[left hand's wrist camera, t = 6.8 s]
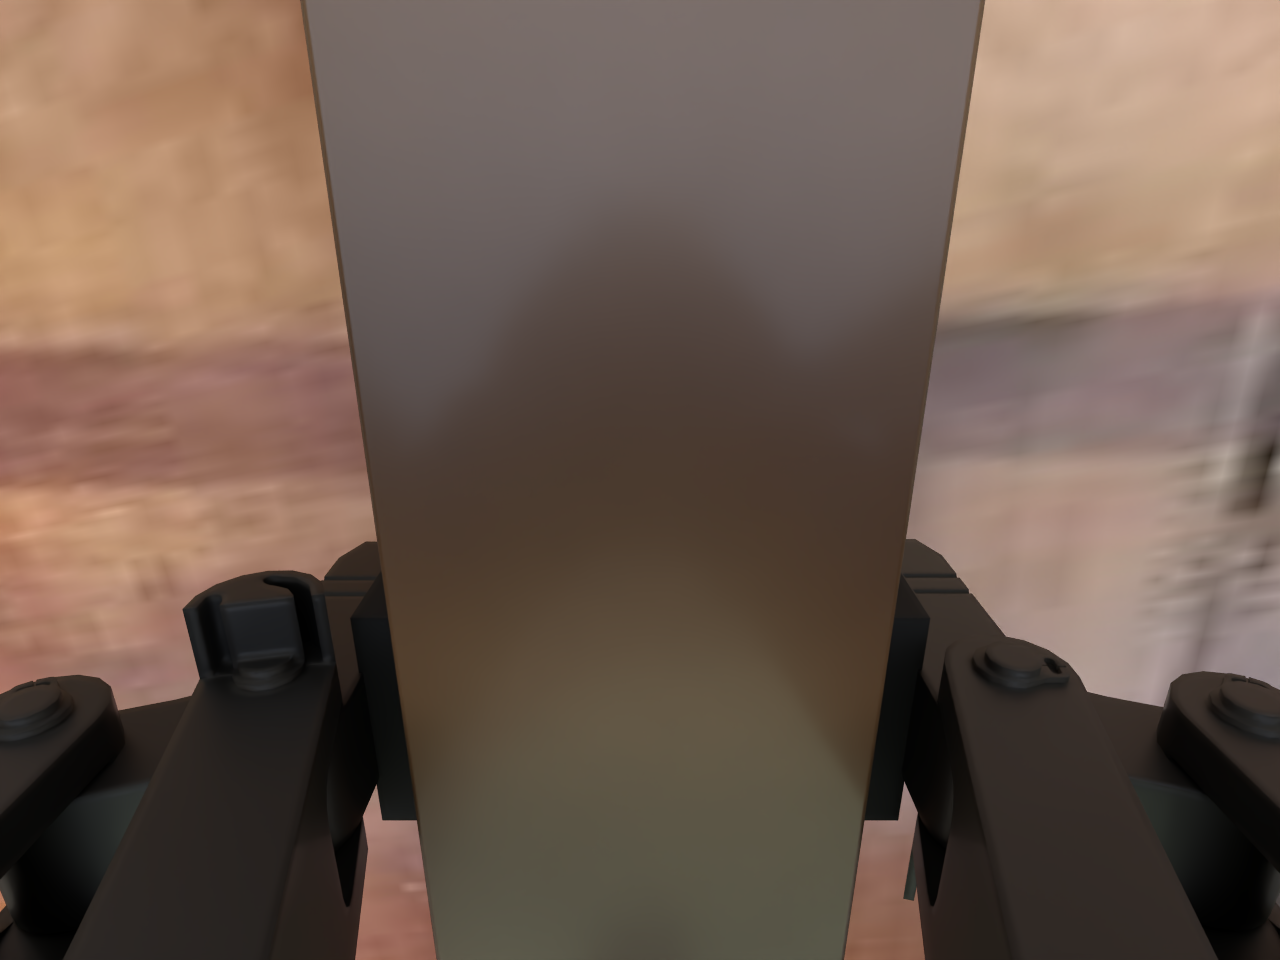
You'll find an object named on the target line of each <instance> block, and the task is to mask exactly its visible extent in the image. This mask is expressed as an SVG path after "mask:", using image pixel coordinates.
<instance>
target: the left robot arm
mask: <svg viewBox="0 0 1280 960" xmlns="http://www.w3.org/2000/svg"><path fill="white" fill-rule="evenodd" d="M324 578H325V579H324V580H321V581H319V580H318V579H317V578H315V577H314V576H312V575H311V574H306V573H301V572H297V571H265V572H259V573H254V574H248V575H243V576H239V577H237V578H234V579H231V580H228V581H225V582H222V583H219V584H216V585H214V586H213V587H211V588H209V589H207V590H205V591H204V592H202V593H200V594H198V595H197V596H195V597H194V598H193V599H192V600H191V601H190V602H189V603H188V604H187V605H186V606H185V607H184V608H183V613H184V617H185V621H186V625H187V629H188V633H189V637H190V641H191V645H192V649H193V653H194V657H195V661H196V665H197V669H198V673H199V677H200V680H199V682H198V684H197V686H196V688H195V690H194V692H193V694H192V696H188V697H185V698H181V699H177V700H172V701H166V702H161V703H156V704H151V705H145V706H140V707H135V708H130V709H125V710H119V711H118V709H117V705H116V702H115V699H114V695H113V692H112V689H111V686H109V685H108V684H107V683H105V682H104V681H103V680H101V679H100V678H96V677H90V676H83V675H71V676H61V677H48V678H43V679H38V680H36V682H33V681H30V682H27V683H24V684H21V685H18V686H16V687H14V688H12V689H11V690H9V691H7V692H5V693H2V694H0V891H1V893H2V896H3V898H4V901H5V903H6V906H5V907H4V909H3V910H2V911H1V912H0V960H355V955H356V947H357V938H358V930H359V921H360V913H361V904H362V896H363V887H364V879H365V870H366V862H367V853H368V846H367V839H366V833H365V827H364V821H363V814H364V812H365V810H366V807H367V805H368V803H369V800H370V798H371V796H372V793H373V791H374V789H375V786H376V784H377V789H378V795H379V802H380V808H381V814H382V820H417V817H416V810H415V803H414V796H413V789H412V782H411V775H410V768H409V761H408V754H407V747H406V740H405V733H404V726H403V719H402V711H401V704H400V697H399V690H398V683H397V676H396V669H395V662H394V655H393V648H392V641H391V634H390V627H389V620H388V613H387V606H386V599H385V592H384V585H383V578H382V571H381V564H380V557H379V550H378V543H377V542H364V543H363V544H361V545H360V546H358V547H356V548H355V549H353V550H351V551H350V552H348V553H346V554H345V555H343V556H341V557H340V558H339V559H338V560H337V561H336V563H335V564H334V565H333V566H332V568H331V569H330V570H329V572H328V573H327V574H326V575H325V577H324ZM904 781H905V784H906V786H907V788H908V791H909V793H910V795H911V798H912V800H913V802H914V804H915V807H916V809H917V811H918V815H917V821H916V827H915V833H914V838H913V844H912V850H911V856H910V862H909V867H908V873H907V879H906V885H905V892H904V898H903V899H908V900H913V901H914V897H915V892H916V886H917V894H918V902H919V911H920V919H921V928H922V936H923V945H924V953H925V960H1280V690H1279V689H1276V688H1274V687H1272V686H1271V685H1269V684H1268V683H1265V682H1263V681H1260V680H1256V679H1253V678H1250V677H1249V679H1248V678H1246V677H1245V676H1241V675H1236V674H1231V673H1228V674H1225V673H1215V672H1205V671H1202V672H1196V673H1189V674H1182V675H1181V676H1180V677H1178V678H1177V679H1176V680H1174V681H1173V682H1172V683H1171V684H1170V688H1169V691H1168V694H1167V698H1166V701H1165V704H1164V707H1158V706H1153V705H1148V704H1143V703H1137V702H1132V701H1127V700H1122V699H1116V698H1111V697H1106V696H1102V695H1098V694H1094V693H1090V692H1087V691H1086V689H1085V687H1084V685H1083V683H1082V681H1081V679H1080V677H1079V676H1078V675H1077V674H1076V672H1075V671H1074V670H1073V669H1072V667H1071V666H1070V665H1069V664H1068V663H1067V662H1065V661H1064V660H1062V659H1061V658H1059V657H1058V656H1056V655H1055V654H1053V653H1052V652H1050V651H1049V650H1047V649H1044V648H1042V647H1039V646H1037V645H1034V644H1032V643H1029V642H1027V641H1024V640H1020V639H1015V638H1010V637H1006V636H1005V635H1004V634H1003V632H1002V631H1001V630H1000V629H999V627H998V626H997V625H996V624H995V622H994V621H993V620H992V618H991V617H990V616H989V615H988V613H987V612H986V611H985V610H984V608H983V607H982V606H981V605H980V603H979V602H978V601H977V599H976V598H975V597H974V596H973V594H969V589H968V588H967V587H966V585H965V584H964V583H963V582H962V580H961V579H960V578H957V577H956V573H955V572H954V570H953V569H952V568H951V566H950V565H949V564H948V563H947V561H946V560H945V559H944V558H943V556H942V555H940V554H939V553H937V552H935V551H934V550H932V549H930V548H929V547H927V546H925V545H924V544H922V543H921V542H919V541H917V540H916V539H906V541H905V548H904V554H903V561H902V568H901V575H900V581H899V588H898V595H897V602H896V609H895V615H894V622H893V629H892V636H891V643H890V649H889V656H888V663H887V670H886V677H885V683H884V690H883V697H882V704H881V711H880V717H879V724H878V731H877V738H876V744H875V751H874V758H873V765H872V772H871V778H870V785H869V792H868V799H867V806H866V812H865V819H864V820H898V817H899V811H900V805H901V798H902V792H903V786H904Z"/></svg>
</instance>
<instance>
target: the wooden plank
mask: <svg viewBox="0 0 1280 960" xmlns="http://www.w3.org/2000/svg"><path fill="white" fill-rule="evenodd" d="M300 1H301V9H302V16H303V23H304V30H305V37H306V44H307V51H308V58H309V65H310V72H311V79H312V86H313V93H314V100H315V107H316V114H317V121H318V128H319V135H320V142H321V149H322V156H323V163H324V170H325V177H326V184H327V191H328V198H329V205H330V212H331V219H332V226H333V233H334V240H335V248H336V255H337V262H338V269H339V276H340V283H341V290H342V297H343V304H344V311H345V318H346V325H347V332H348V339H349V346H350V353H351V360H352V367H353V374H354V381H355V388H356V395H357V402H358V409H359V416H360V423H361V430H362V437H363V444H364V451H365V458H366V465H367V472H368V480H369V487H370V494H371V501H372V508H373V515H374V522H375V529H376V536H377V543H378V550H379V557H380V564H381V571H382V578H383V585H384V592H385V599H386V606H387V613H388V620H389V627H390V634H391V641H392V648H393V655H394V662H395V669H396V676H397V683H398V690H399V697H400V704H401V711H402V719H403V726H404V733H405V740H406V747H407V754H408V761H409V768H410V775H411V782H412V789H413V796H414V803H415V810H416V817H417V824H418V831H419V838H420V845H421V852H422V859H423V866H424V873H425V880H426V887H427V894H428V901H429V908H430V915H431V922H432V929H433V936H434V943H435V950H436V958H437V960H844V955H845V948H846V941H847V935H848V928H849V921H850V914H851V907H852V901H853V894H854V887H855V880H856V874H857V867H858V860H859V853H860V846H861V840H862V833H863V826H864V819H865V812H866V806H867V799H868V792H869V785H870V778H871V772H872V765H873V758H874V751H875V744H876V738H877V731H878V724H879V717H880V711H881V704H882V697H883V690H884V683H885V677H886V670H887V663H888V656H889V649H890V643H891V636H892V629H893V622H894V615H895V609H896V602H897V595H898V588H899V581H900V575H901V568H902V561H903V554H904V548H905V541H906V534H907V527H908V520H909V514H910V507H911V500H912V493H913V486H914V480H915V473H916V466H917V459H918V452H919V446H920V439H921V432H922V425H923V418H924V412H925V405H926V398H927V391H928V384H929V378H930V371H931V364H932V357H933V351H934V344H935V337H936V330H937V323H938V317H939V310H940V303H941V296H942V289H943V283H944V276H945V269H946V262H947V255H948V249H949V242H950V235H951V228H952V221H953V215H954V208H955V201H956V194H957V188H958V181H959V174H960V167H961V160H962V154H963V147H964V140H965V133H966V126H967V120H968V113H969V106H970V99H971V92H972V86H973V79H974V72H975V65H976V58H977V52H978V45H979V38H980V31H981V25H982V18H983V11H984V4H985V0H300Z"/></svg>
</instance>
